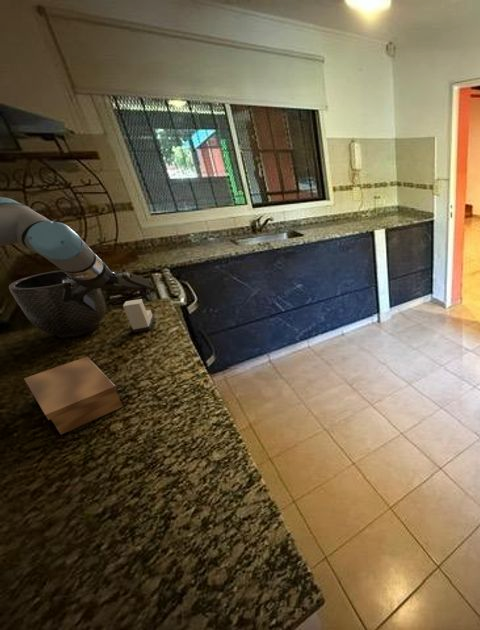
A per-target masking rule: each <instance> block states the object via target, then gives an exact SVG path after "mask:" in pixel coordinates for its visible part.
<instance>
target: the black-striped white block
mask: <svg viewBox="0 0 480 630" xmlns="http://www.w3.org/2000/svg"><path fill="white" fill-rule="evenodd" d="M122 307H123V311H124V312H125V315H126V317H127V319H128V322H129V324H130V327H131V329H132V332H133V334H135V333H140V332H145V331H151V328H152V326H153V324H154V320H155V316H154V315H153V313H152V310H151V309H148V310H147V309H146V307H145V303H144V302H143V299H142V298H138V299H133V300H132V299H131V300H127V301H125V302H124V303H123V305H122Z"/></svg>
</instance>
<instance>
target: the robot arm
mask: <svg viewBox="0 0 480 630" xmlns="http://www.w3.org/2000/svg"><path fill="white" fill-rule="evenodd" d="M15 244H19V245H21V246H23V247H25V248H27V249H29V250H31V251H33V252H35V253H37V254H38V255H39V256H41V257H43V258H45V259H46V260H48V261H49V262H50V263H52V264H53V265H55V266H56V267H57V268H58V269H59V270H62V271H63V272H64V273H65V274H67V275H68V276H69V277H70V278H71V279H69V278H68V277H62V286H63V288H64V289H63V301H64V302H69V301H70V300H73V301H74V302H77V303H79V304H80V305H85V306H86V307H88V308H89V309H90V310H95V304H94V301H92V300H91V299H90V298H89V297H87V296H86V294H87V293H88V292H91V291H92V290H93V289H95V288H96V289H99V288H101V289H104V288H112V289H113V288H114V289H121V288H122V289H127V290H131V291H137V292H139V294H140V295H141V296H142V297H143V298H144V299H145V301H146V302H147V303H148V302H149V303H150V302H151V290H154V286H153V280H150V279H148V278H146V277H142V276H139V275H137V274H134V273H132V272H130V271H129V270H128V269H122V270H121V272H118V273H115V272H114V271H111V269H110V268H109V266H108V265H107V264H105V262H104V261H103V260H102V259H101V258H100V257H99V256H98V255H97V254H96V253H95V252H94V250H92V249H91V248H90V246H88V244H87V243H86V242H85V241H84V240H83V239H82V238H81V237H80V235H79V233H77V232H76V231H75V230H73V229H72V228H71V227H70V226H68V225H67V224H65V223H63V222H60V221H53V220H50V219H49V218H47V217H45V216H44V215H42V214H40V213H38V212H36V211H35V210H34V209H32V208H31V207H30V206H28V205H25V204H23V203H20V202H18V201H17V200H14V199H12V198H9V197H3V196H0V247H4V246H11V245H15ZM75 284H77V285H80V286H79V287H78V288H77V289H76V290H75V291H73V290H72V288H73V286H75ZM71 292H73V294H71Z"/></svg>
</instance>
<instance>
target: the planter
mask: <svg viewBox="0 0 480 630" xmlns="http://www.w3.org/2000/svg"><path fill="white" fill-rule="evenodd" d="M62 277H68V278H69V279H71V278H70V277H69V276H68V275H67V274H65V273H64V272H63V271H62V270H60V269H59V270H53V271H47V272H42V273H37V274H33V275H29V276H26V277H23V278H20V279H18V280H15V281H13V282H11V283H10V284H9V285H8V289H9V292H10V293H11V295H12V297H13V298H14V300H15V302H16V303H17V305H18V306H19V308H20V309H21V311H22V312H23V314H24V316H25V317H26V318H27V320H28V321H29V322H30V323H31V324H32V325H33V326H34V327H36V328H37V329H38V330H40V331H42V332H44V333H48V334H52V335H55V336H56V337H58V338H64V339H65V338H66V339H67V338H74V337H79V336H82V335H86V334H88V333H91V332H94V331H96V329H98V328H99V326H100V323H101V321H103V319H104V317H105V315H106V313H107V304H106V299H105V297H104V295H103V292H102V288H99V289H96V288H95V289H93V290H92V291H91V292H88V293H87V294H86V296H87V297H89V298H90V299H91V300H92V301H94V304H95V310H90V309H89V308H88V307H86V306H85V305H80V304H79V303H77V302H74V301H73V300H70V301H69V302H64V301H63V289H64V288H63V286H62ZM79 286H80V285H77V284H75V286H73V288H72V290H73V291H75V290H76V289H77V288H78V287H79ZM71 294H73V292H71Z"/></svg>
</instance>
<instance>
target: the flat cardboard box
mask: <svg viewBox="0 0 480 630" xmlns="http://www.w3.org/2000/svg"><path fill="white" fill-rule="evenodd" d="M23 380H24V381H25V383H26V385H27V387H28V388H29V390H30V392H31V393H32V395H33V397H34V399H35V400H36V402H37V403H38V405H39V408H40V409H41V411H42V412H43V414H44V416H45V418H46V419H47V421H50V420H51V422H52V424H53V425H54V427H55V428H56V430H57V432H58V433H59V435H63V434H67V433H68V432H71V431H72V430H75V429H78V428H79V427H81V426H83V425H86V424H88V423H90V422H93V421H95V420H97V419H100V418H101V417H104V416H105V415H108V414H110V413H112V412H114V411H117V410H119V409H121V408H124V405H123V404H122V402H121V400H120V397H119V395H118V393H117V392H118V388H117V386H116V385H115V384H114V382H113V381H111V379H110V378H109V377H108V376H107V375H105V373H104V372H103V371H102V370H101V369H100V368H99V367H98V366H97V365H96V364H95V363H94V362H93V361H92V360H91V358H89V356H85V357H82V358H79V359H76V360H73V361H70V362H67V363H64V364H61V365H59V366H58V365H57V366H56V367H53V368H50V369H47V370H43V371H41V372H38V373H35V374H32V375H29V376H27V377H24V378H23Z"/></svg>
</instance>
